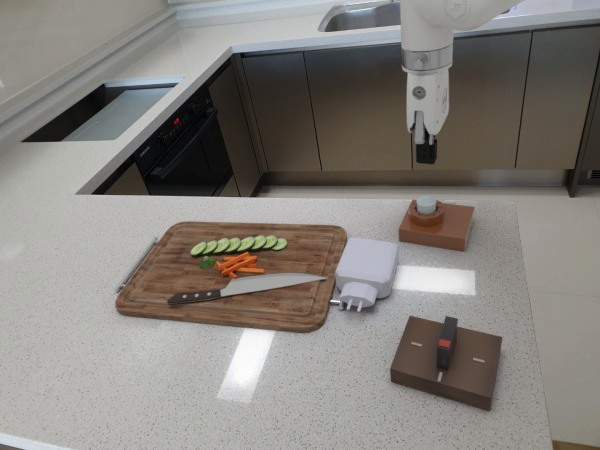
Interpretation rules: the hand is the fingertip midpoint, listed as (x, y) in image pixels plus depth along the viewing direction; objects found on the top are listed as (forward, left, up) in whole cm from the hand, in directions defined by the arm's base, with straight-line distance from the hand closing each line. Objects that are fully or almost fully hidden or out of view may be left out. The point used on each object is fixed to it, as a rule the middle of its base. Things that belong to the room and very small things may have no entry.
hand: (426, 161), depth 81 cm
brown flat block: (-10, +30, -15) cm, 35 cm away
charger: (+6, +19, -15) cm, 25 cm away
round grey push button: (0, 0, -11) cm, 11 cm away
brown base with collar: (-2, 0, -15) cm, 15 cm away
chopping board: (+31, +21, -15) cm, 41 cm away
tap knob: (-10, +30, -12) cm, 34 cm away
